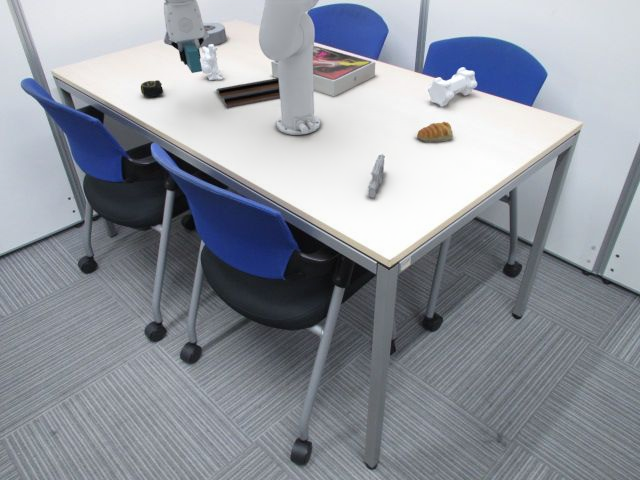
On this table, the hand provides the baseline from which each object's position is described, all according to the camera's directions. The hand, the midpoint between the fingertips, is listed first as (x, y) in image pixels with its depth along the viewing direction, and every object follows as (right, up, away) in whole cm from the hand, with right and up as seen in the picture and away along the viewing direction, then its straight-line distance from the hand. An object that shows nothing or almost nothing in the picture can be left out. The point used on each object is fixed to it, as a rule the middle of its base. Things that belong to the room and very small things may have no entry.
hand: (191, 61), depth 158 cm
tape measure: (-16, -5, +18) cm, 25 cm away
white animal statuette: (+1, +3, +27) cm, 27 cm away
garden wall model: (+52, -40, -29) cm, 72 cm away
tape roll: (-8, +28, +59) cm, 66 cm away
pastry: (+70, -25, -11) cm, 75 cm away
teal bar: (0, 0, 0) cm, 1 cm away
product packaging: (+39, +4, +26) cm, 47 cm away
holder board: (+17, -5, +16) cm, 24 cm away
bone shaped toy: (+79, -9, +8) cm, 80 cm away
